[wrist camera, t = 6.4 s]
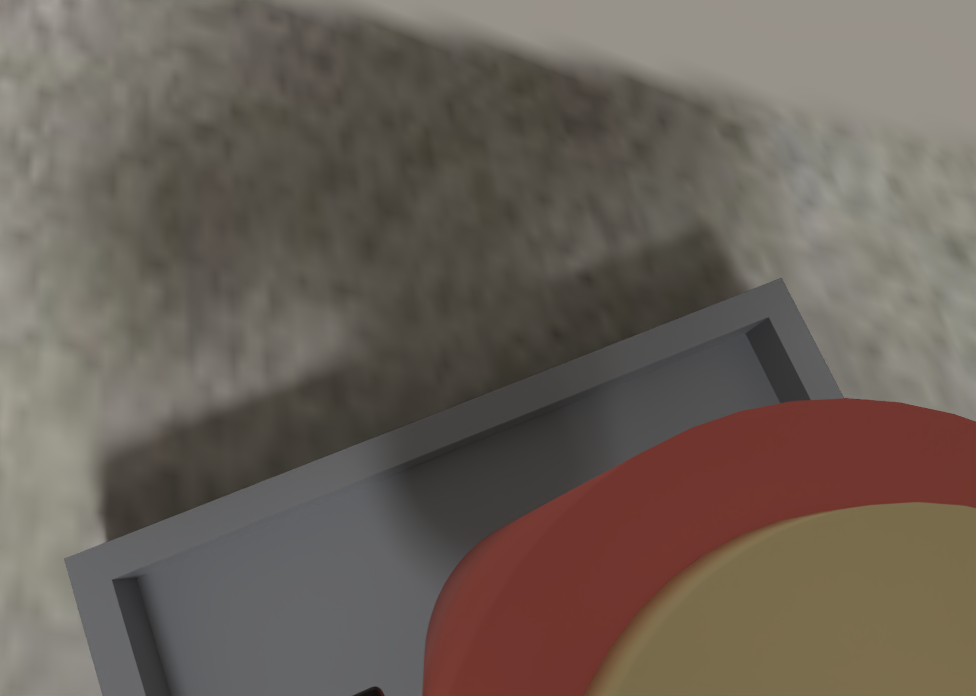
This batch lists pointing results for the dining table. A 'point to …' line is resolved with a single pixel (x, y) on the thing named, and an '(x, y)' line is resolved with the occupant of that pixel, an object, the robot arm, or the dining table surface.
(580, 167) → the dining table surface
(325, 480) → the tray
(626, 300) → the dining table surface
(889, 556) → the pepper mill
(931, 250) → the dining table surface
